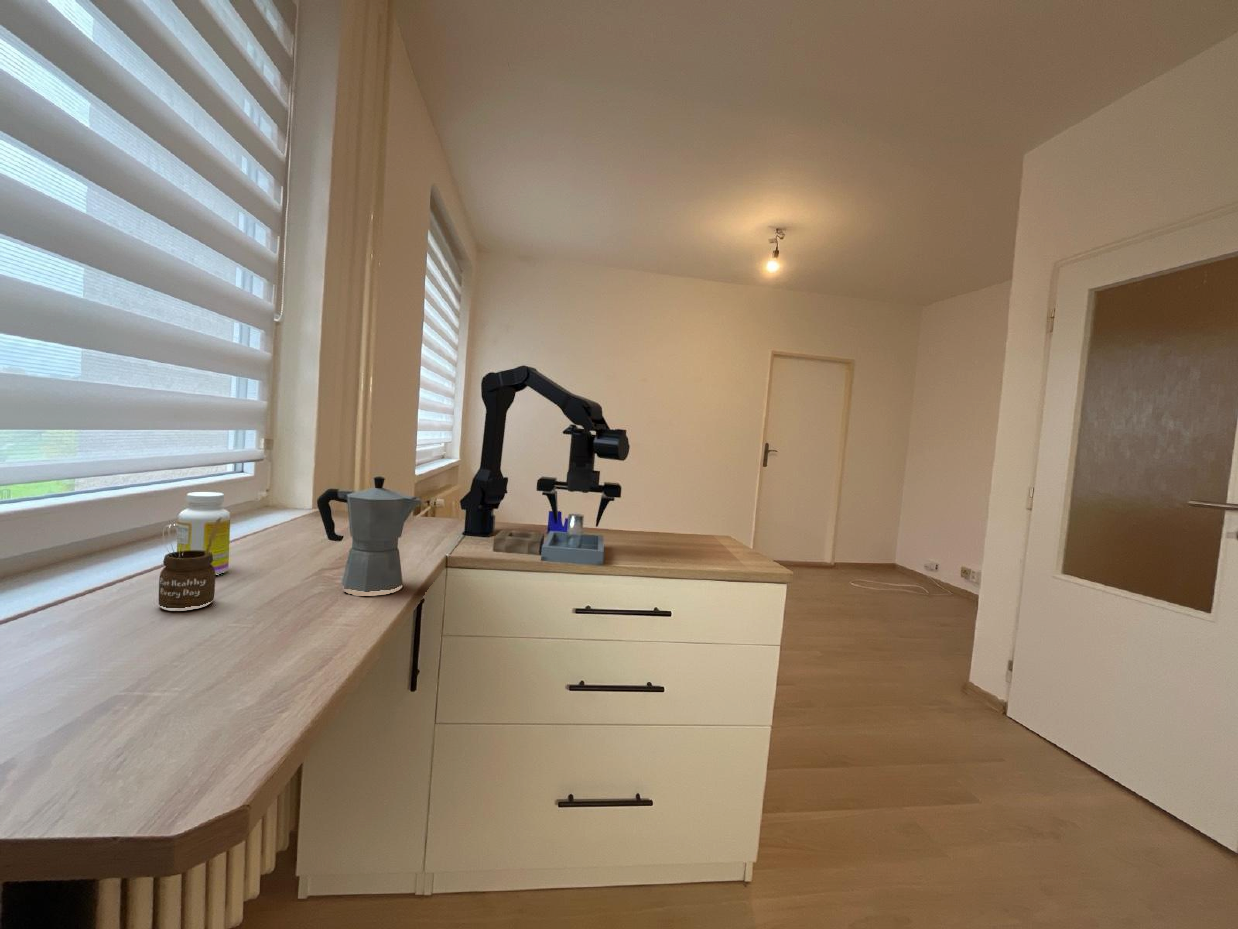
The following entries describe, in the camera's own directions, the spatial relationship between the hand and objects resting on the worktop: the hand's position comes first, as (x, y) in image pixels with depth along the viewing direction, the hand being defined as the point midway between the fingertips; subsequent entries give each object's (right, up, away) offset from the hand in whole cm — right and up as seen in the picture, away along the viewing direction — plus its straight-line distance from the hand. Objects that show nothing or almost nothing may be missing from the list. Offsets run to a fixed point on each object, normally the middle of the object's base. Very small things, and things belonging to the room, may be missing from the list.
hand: (576, 524), depth 124 cm
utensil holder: (-48, -6, -50) cm, 70 cm away
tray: (-1, -7, 0) cm, 7 cm away
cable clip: (-5, -6, +18) cm, 20 cm away
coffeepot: (-31, -6, -37) cm, 48 cm away
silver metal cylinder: (-1, -6, 0) cm, 6 cm away
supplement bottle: (-57, -4, -37) cm, 68 cm away
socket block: (-13, -5, +1) cm, 14 cm away
